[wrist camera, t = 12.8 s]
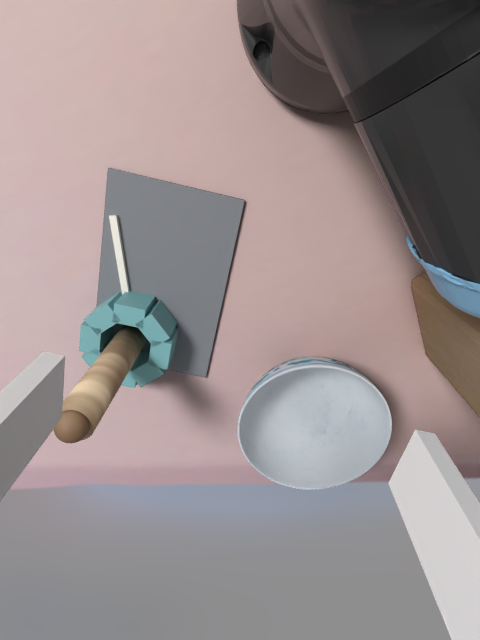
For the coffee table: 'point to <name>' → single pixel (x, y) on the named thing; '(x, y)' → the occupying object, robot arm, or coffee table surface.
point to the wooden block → (449, 339)
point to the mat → (172, 256)
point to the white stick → (119, 253)
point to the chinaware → (314, 424)
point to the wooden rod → (99, 386)
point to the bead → (138, 314)
